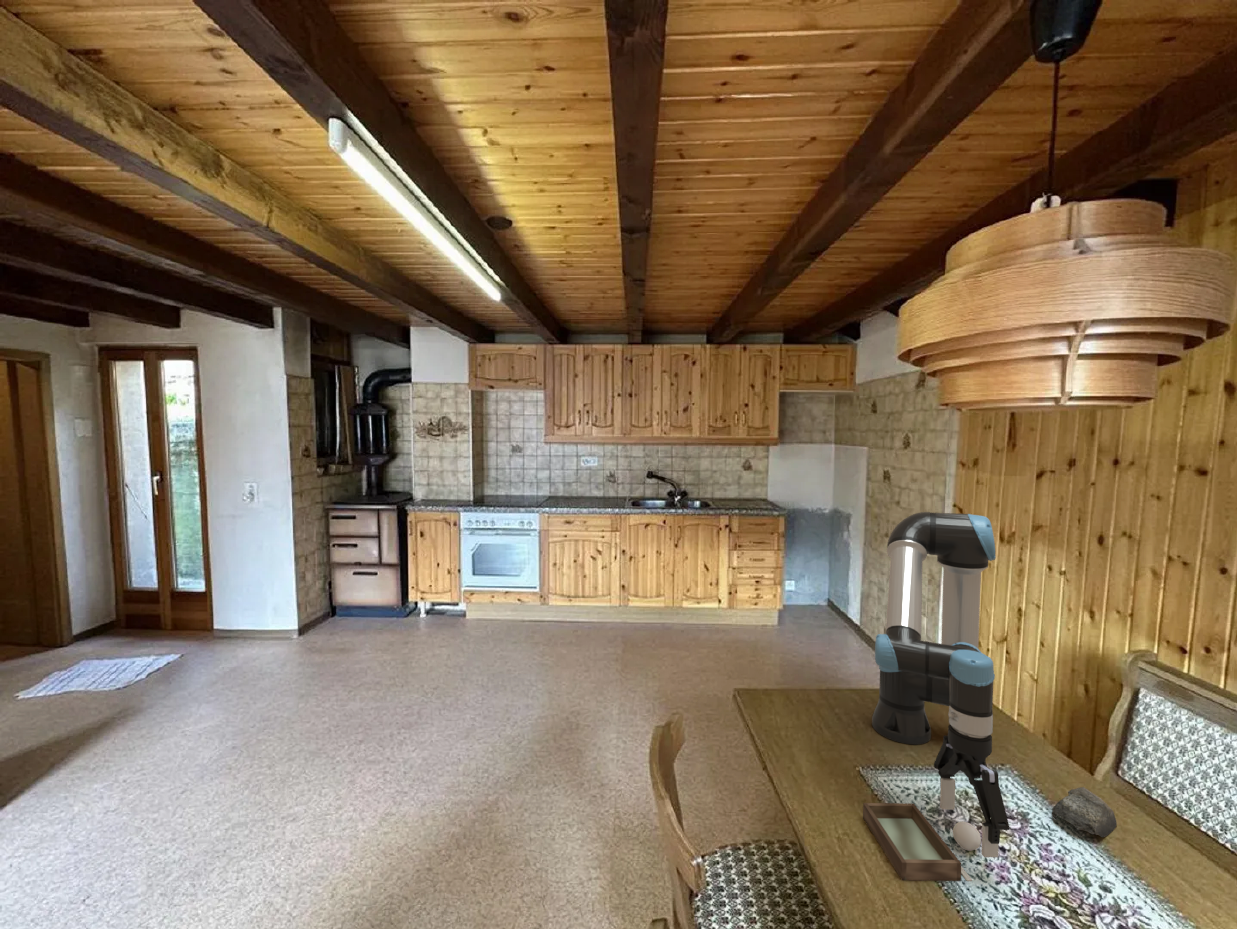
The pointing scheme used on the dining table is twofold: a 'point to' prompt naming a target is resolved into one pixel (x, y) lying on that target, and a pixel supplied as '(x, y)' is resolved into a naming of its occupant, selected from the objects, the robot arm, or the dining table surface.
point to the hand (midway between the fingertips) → (967, 831)
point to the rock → (1086, 812)
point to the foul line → (965, 875)
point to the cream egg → (966, 836)
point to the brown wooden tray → (911, 842)
